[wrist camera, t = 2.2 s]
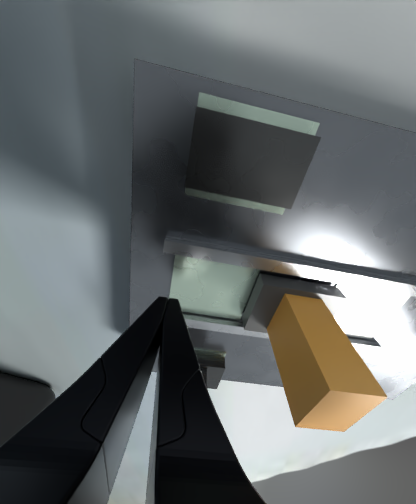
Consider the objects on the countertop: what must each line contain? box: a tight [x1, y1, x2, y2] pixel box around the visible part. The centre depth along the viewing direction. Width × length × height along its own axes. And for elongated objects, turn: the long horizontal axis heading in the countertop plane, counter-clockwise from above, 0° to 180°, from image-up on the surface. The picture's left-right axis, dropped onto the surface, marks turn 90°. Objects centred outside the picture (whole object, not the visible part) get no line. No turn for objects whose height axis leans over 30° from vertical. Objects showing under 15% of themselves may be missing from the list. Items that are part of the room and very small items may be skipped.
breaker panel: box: [129, 59, 416, 400], centre depth 11 cm, size 20×16×5 cm
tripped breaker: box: [242, 274, 387, 432], centre depth 9 cm, size 4×3×5 cm
